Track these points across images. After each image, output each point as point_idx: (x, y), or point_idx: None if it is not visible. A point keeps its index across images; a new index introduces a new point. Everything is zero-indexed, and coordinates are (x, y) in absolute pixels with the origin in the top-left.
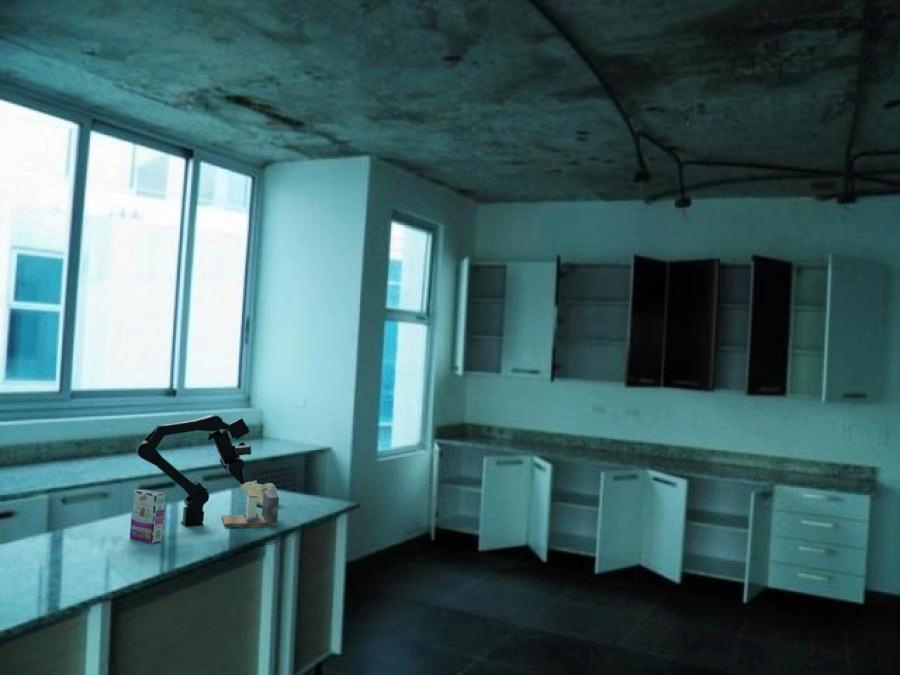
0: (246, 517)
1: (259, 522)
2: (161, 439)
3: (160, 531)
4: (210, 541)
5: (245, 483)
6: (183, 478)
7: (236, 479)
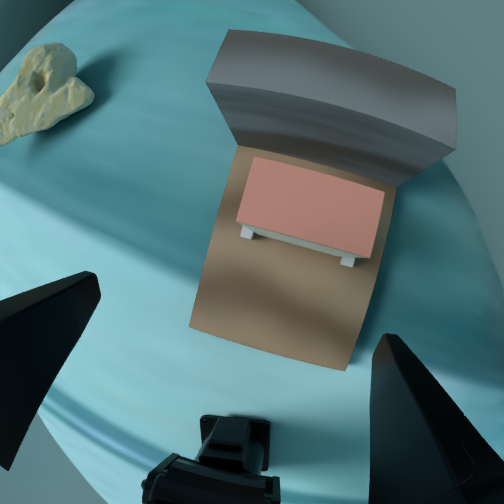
0: (291, 243)
1: (382, 214)
2: None
3: None
4: None
5: None
6: None
7: (95, 307)
